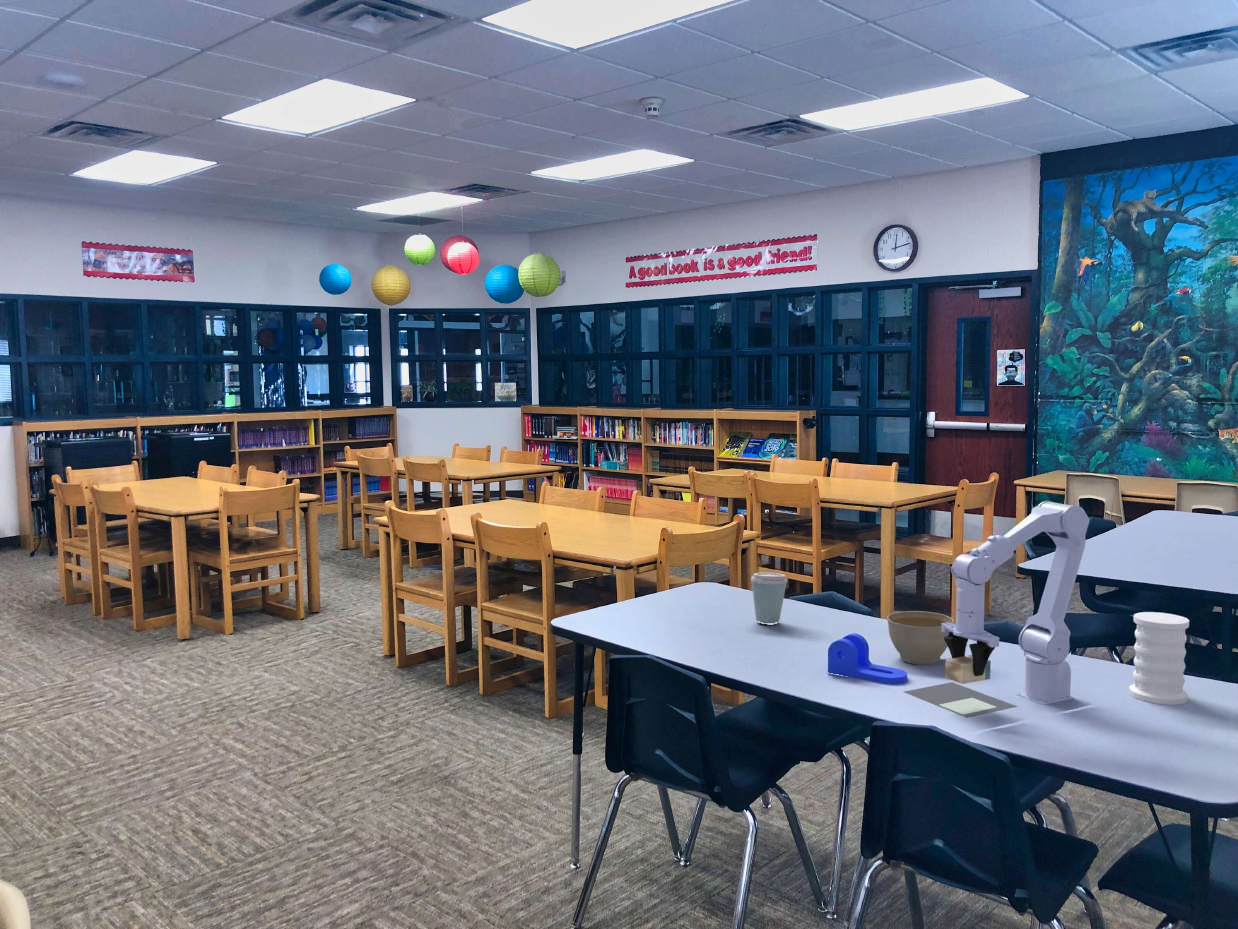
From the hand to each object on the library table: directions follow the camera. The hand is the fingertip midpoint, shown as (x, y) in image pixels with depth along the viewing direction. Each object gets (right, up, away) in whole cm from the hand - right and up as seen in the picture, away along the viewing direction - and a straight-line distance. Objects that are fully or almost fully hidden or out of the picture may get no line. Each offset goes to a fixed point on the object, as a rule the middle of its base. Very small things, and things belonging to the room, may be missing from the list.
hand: (968, 671), depth 209 cm
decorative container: (+45, -7, +7) cm, 46 cm away
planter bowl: (+1, -5, +37) cm, 37 cm away
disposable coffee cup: (-32, -2, +75) cm, 82 cm away
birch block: (0, -1, 0) cm, 1 cm away
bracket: (-15, -7, +24) cm, 29 cm away
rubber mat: (0, -8, +6) cm, 9 cm away
